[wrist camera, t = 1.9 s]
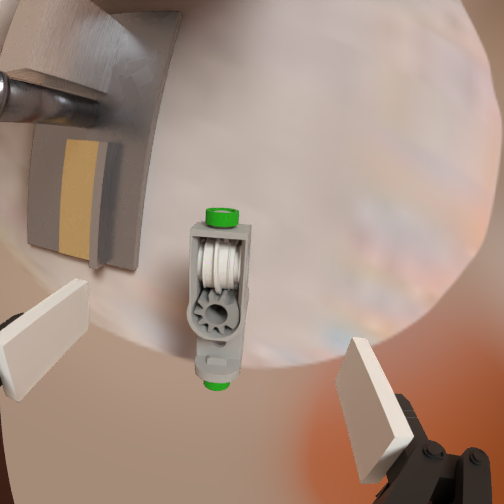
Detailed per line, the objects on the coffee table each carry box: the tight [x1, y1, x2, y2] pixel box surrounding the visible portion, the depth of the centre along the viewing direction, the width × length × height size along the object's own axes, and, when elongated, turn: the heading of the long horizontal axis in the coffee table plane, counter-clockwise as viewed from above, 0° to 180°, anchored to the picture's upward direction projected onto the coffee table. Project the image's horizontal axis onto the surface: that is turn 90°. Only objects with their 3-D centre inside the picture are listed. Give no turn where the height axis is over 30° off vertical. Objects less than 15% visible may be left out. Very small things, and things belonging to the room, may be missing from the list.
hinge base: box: [0, 0, 182, 270], centre depth 17 cm, size 22×12×13 cm, turn 169°
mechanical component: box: [186, 208, 251, 391], centre depth 20 cm, size 3×10×10 cm, turn 176°
